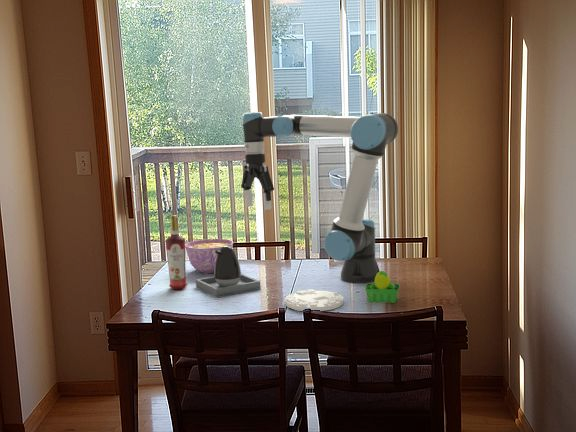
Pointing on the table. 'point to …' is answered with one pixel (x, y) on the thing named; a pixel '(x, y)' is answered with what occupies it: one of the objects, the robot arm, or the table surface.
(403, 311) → the table surface
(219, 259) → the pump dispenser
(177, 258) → the liquor
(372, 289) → the fruit basket
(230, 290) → the tray
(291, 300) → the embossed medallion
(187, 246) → the bowl of food
